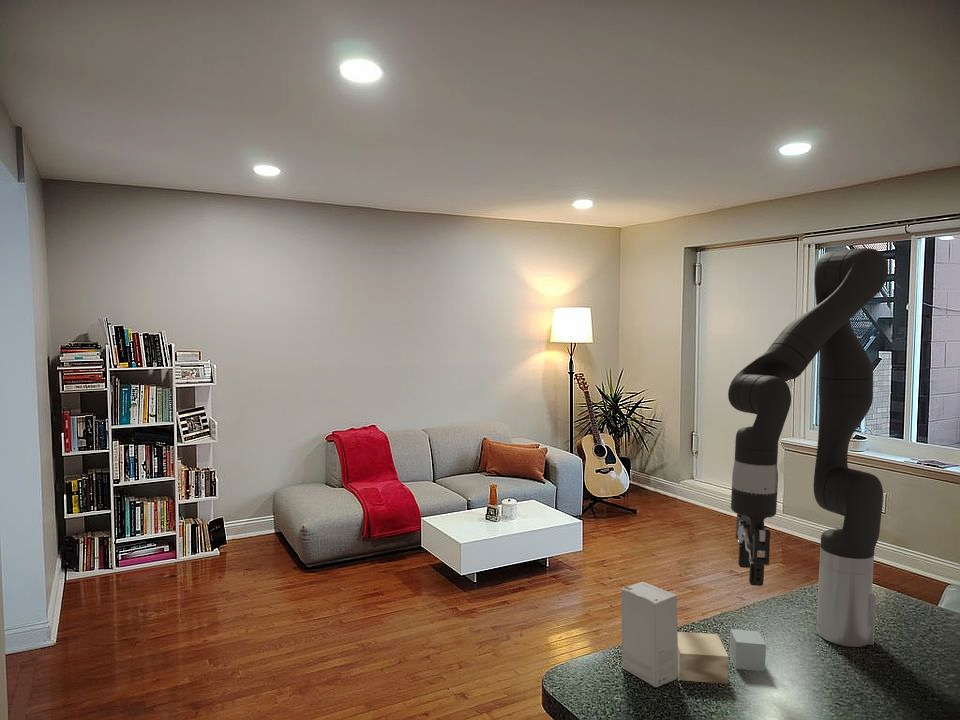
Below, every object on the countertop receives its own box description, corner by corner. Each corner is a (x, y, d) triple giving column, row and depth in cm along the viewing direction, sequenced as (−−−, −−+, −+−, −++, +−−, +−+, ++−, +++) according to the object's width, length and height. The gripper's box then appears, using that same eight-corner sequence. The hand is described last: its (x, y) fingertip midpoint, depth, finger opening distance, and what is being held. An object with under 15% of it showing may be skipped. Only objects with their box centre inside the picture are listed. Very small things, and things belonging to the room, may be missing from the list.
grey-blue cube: (757, 657, 124) (758, 631, 124) (764, 671, 119) (766, 644, 119) (729, 655, 125) (730, 628, 125) (735, 669, 120) (736, 641, 120)
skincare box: (678, 679, 116) (681, 595, 115) (654, 690, 113) (657, 603, 112) (641, 658, 123) (644, 579, 122) (618, 667, 120) (620, 586, 119)
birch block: (716, 660, 123) (717, 634, 123) (727, 684, 115) (728, 656, 115) (671, 657, 124) (672, 631, 124) (679, 681, 116) (680, 653, 116)
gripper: (788, 498, 112) (783, 593, 113) (766, 478, 126) (762, 562, 127) (741, 495, 113) (736, 589, 114) (724, 475, 127) (720, 559, 129)
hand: (750, 575), depth 121 cm, fingers open, 8 cm apart
